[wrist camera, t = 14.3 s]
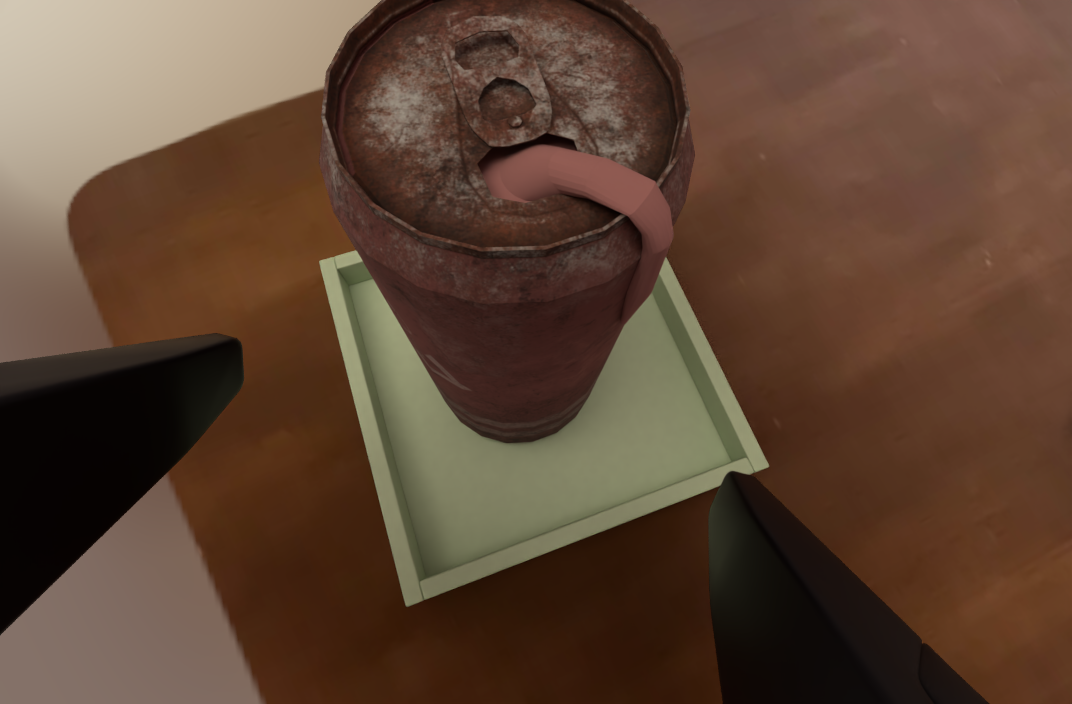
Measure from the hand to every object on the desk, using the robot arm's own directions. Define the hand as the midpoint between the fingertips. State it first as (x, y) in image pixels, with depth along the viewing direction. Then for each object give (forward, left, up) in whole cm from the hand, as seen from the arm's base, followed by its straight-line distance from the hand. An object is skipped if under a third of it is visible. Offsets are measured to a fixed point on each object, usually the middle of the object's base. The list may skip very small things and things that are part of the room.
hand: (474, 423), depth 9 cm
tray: (+3, +4, -11) cm, 12 cm away
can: (+2, +4, -11) cm, 12 cm away
